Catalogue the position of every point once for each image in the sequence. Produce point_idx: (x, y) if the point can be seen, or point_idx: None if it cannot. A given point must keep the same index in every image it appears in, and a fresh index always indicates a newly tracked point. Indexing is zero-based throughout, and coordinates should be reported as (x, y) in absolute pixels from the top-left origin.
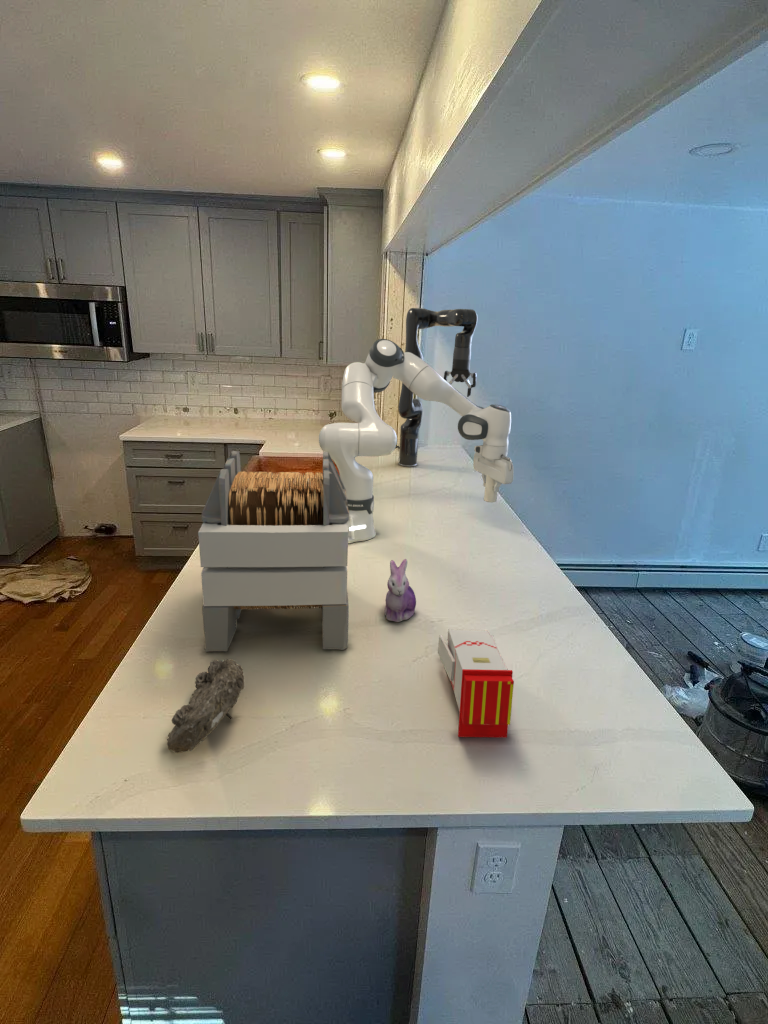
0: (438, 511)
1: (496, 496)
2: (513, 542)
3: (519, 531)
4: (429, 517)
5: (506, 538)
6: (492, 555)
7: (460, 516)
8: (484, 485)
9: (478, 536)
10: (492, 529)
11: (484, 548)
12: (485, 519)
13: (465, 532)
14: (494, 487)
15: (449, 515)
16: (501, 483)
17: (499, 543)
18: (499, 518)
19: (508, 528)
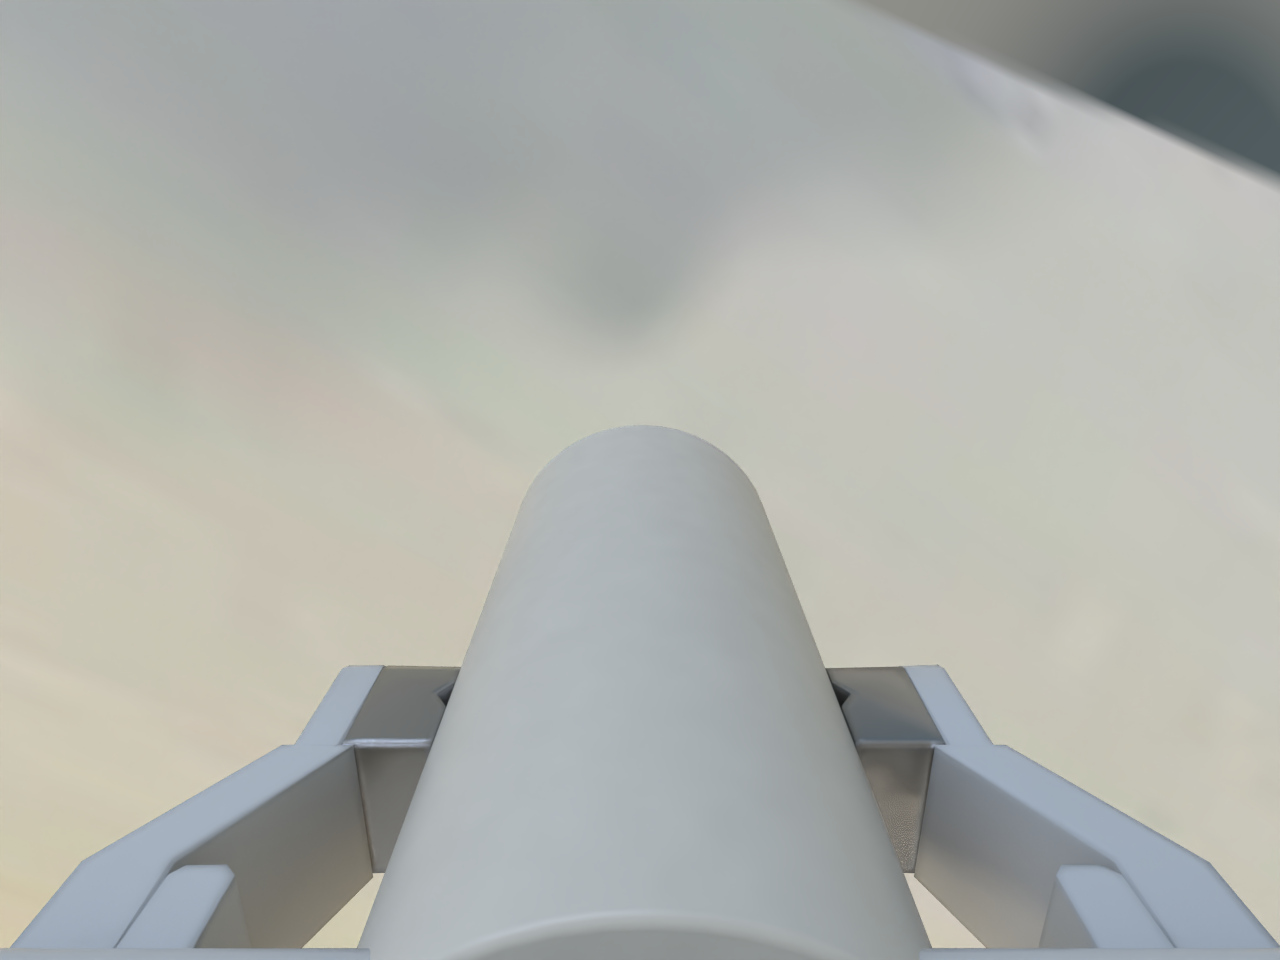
0: (30, 642)
1: (772, 534)
2: (1140, 370)
3: (910, 51)
4: None
5: (1011, 376)
6: (1251, 739)
7: (223, 495)
8: None
9: (829, 624)
10: (716, 369)
11: (1094, 722)
12: (379, 249)
13: None
14: (937, 870)
15: (174, 594)
16: (1201, 879)
17: (1079, 530)
18: (382, 11)
19: (761, 139)
